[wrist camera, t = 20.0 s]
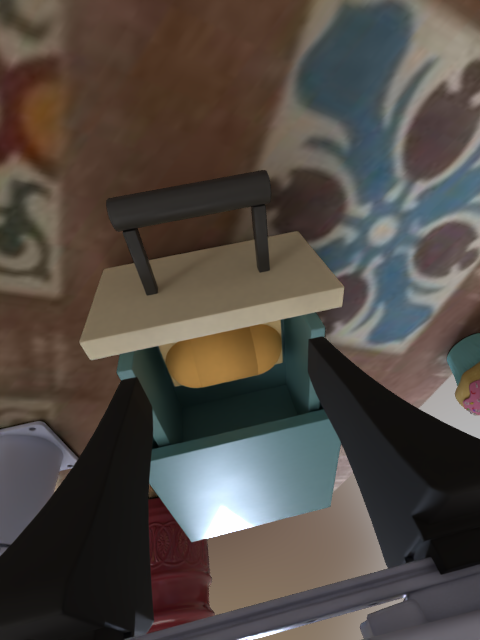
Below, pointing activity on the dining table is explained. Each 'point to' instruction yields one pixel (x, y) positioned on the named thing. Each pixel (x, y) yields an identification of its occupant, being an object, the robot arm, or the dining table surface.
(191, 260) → the drawer
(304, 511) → the cabinet
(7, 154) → the dining table surface
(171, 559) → the kitchen canister
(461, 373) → the cupcake
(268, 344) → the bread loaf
